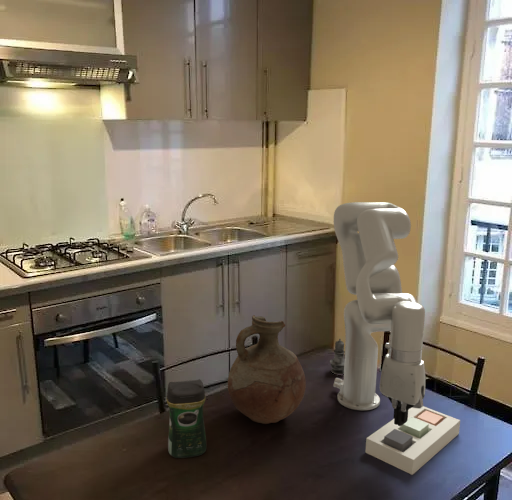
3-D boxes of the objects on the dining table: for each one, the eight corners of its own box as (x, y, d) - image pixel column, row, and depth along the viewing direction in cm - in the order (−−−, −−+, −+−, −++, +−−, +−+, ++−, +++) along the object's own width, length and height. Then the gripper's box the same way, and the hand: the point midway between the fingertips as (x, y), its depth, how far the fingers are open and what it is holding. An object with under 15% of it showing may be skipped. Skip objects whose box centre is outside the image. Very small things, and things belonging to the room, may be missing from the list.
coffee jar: (204, 439, 144) (203, 373, 140) (208, 457, 137) (207, 388, 133) (166, 443, 142) (165, 376, 138) (168, 461, 135) (167, 391, 131)
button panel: (365, 452, 140) (366, 438, 139) (414, 416, 158) (415, 403, 157) (412, 474, 131) (413, 459, 130) (458, 433, 149) (460, 420, 148)
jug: (320, 422, 154) (324, 319, 147) (258, 447, 141) (260, 337, 134) (271, 392, 170) (273, 299, 164) (212, 412, 158) (212, 313, 151)
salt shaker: (346, 376, 182) (348, 342, 179) (328, 374, 183) (330, 340, 180) (347, 369, 188) (349, 336, 185) (330, 367, 189) (331, 334, 186)
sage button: (401, 432, 143) (401, 423, 143) (410, 425, 147) (411, 416, 146) (418, 440, 140) (419, 431, 140) (428, 432, 144) (428, 423, 143)
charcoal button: (383, 445, 137) (384, 436, 137) (394, 437, 141) (394, 428, 140) (401, 453, 134) (402, 444, 134) (411, 445, 138) (412, 436, 137)
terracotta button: (416, 425, 150) (417, 417, 149) (425, 418, 153) (426, 410, 153) (433, 432, 146) (434, 423, 146) (442, 425, 150) (443, 417, 149)
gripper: (369, 348, 134) (365, 417, 138) (427, 367, 124) (420, 440, 128) (386, 341, 140) (381, 407, 144) (442, 357, 130) (435, 429, 133)
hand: (400, 423), depth 136 cm, fingers closed
